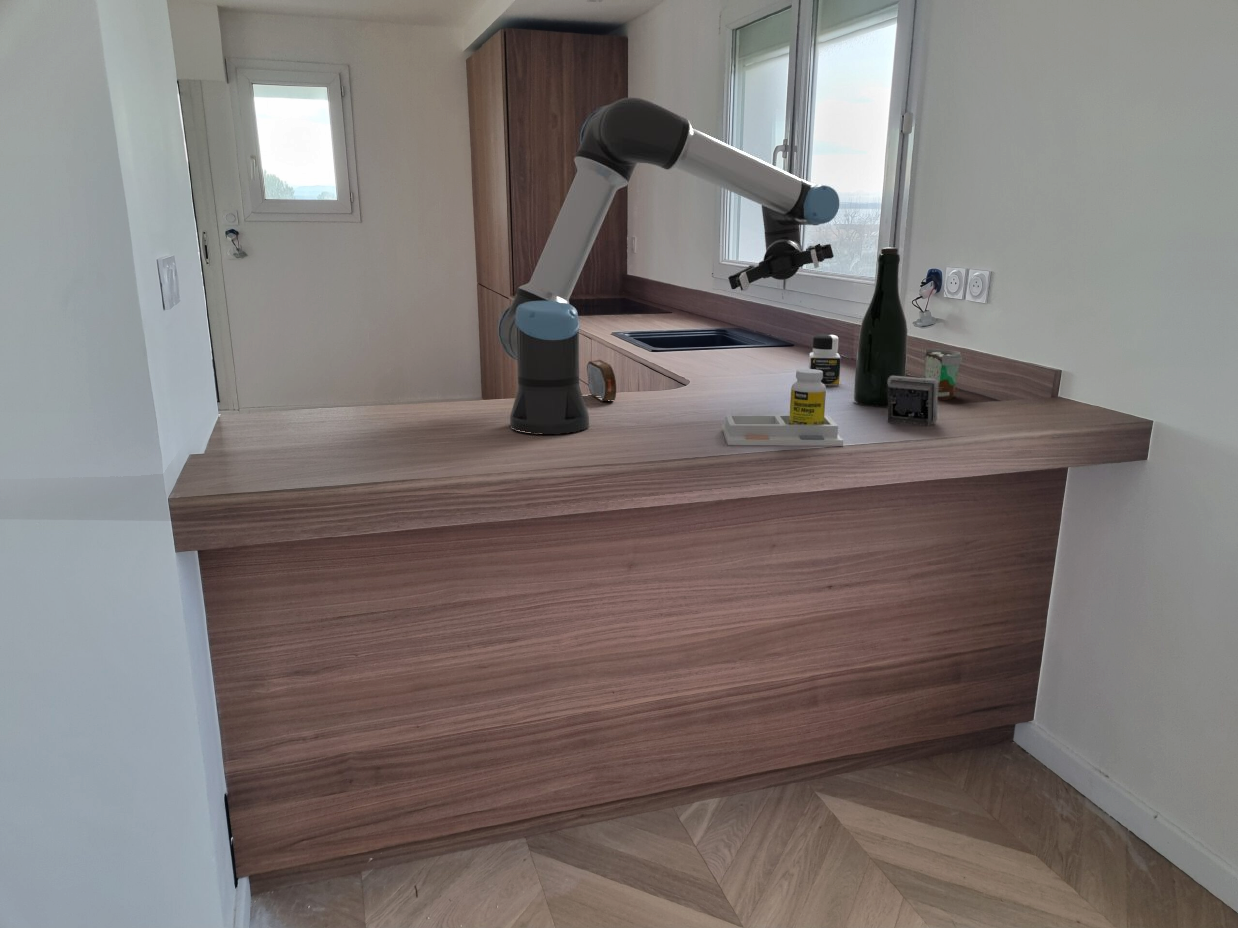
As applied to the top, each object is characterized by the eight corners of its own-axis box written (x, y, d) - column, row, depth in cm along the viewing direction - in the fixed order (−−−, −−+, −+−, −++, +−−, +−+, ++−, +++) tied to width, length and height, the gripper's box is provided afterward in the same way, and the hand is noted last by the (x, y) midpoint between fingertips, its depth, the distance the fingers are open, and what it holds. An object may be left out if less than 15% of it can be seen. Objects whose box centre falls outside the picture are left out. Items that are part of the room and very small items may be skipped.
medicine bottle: (809, 385, 209) (811, 336, 206) (807, 380, 216) (810, 333, 213) (839, 386, 208) (842, 336, 205) (836, 381, 215) (839, 333, 212)
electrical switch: (937, 423, 166) (940, 377, 163) (930, 431, 162) (933, 383, 159) (888, 418, 171) (891, 373, 168) (881, 425, 167) (883, 379, 164)
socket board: (727, 445, 149) (728, 428, 149) (722, 430, 161) (723, 414, 160) (842, 445, 149) (844, 429, 148) (829, 430, 160) (830, 415, 159)
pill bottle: (788, 433, 153) (791, 372, 151) (789, 426, 159) (792, 367, 156) (823, 435, 152) (827, 373, 149) (823, 428, 158) (826, 368, 155)
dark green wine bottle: (878, 409, 180) (890, 248, 171) (843, 401, 189) (853, 247, 180) (913, 404, 185) (927, 247, 176) (877, 397, 193) (889, 247, 185)
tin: (617, 404, 187) (617, 366, 184) (603, 405, 186) (603, 366, 183) (598, 393, 200) (597, 357, 198) (585, 393, 199) (584, 357, 197)
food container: (967, 401, 189) (971, 355, 186) (939, 401, 189) (943, 356, 186) (947, 391, 200) (951, 348, 198) (921, 391, 201) (924, 348, 198)
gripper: (847, 257, 175) (851, 270, 155) (730, 295, 182) (720, 311, 163) (837, 221, 173) (840, 230, 153) (719, 261, 180) (708, 273, 161)
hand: (778, 272), depth 158 cm, fingers open, 13 cm apart
